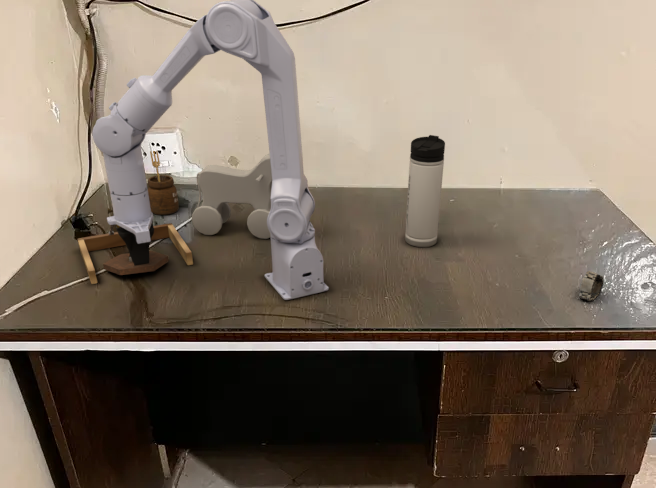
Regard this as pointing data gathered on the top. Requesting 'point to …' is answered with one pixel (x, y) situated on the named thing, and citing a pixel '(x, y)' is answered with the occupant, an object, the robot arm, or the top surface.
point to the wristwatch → (591, 286)
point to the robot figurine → (125, 264)
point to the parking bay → (115, 240)
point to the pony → (234, 197)
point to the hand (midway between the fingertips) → (141, 265)
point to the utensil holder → (162, 191)
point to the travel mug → (424, 190)
